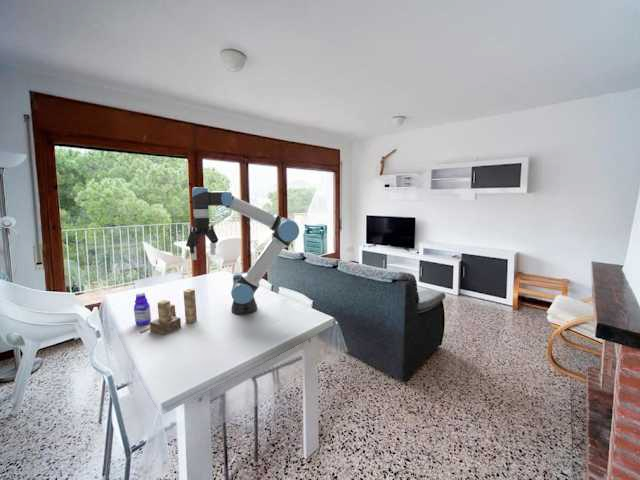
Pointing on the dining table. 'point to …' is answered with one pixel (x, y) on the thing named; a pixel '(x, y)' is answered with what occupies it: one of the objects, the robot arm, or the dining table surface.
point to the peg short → (172, 310)
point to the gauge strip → (145, 330)
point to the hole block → (165, 326)
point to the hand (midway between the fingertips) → (204, 257)
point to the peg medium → (164, 311)
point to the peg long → (190, 306)
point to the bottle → (142, 309)
